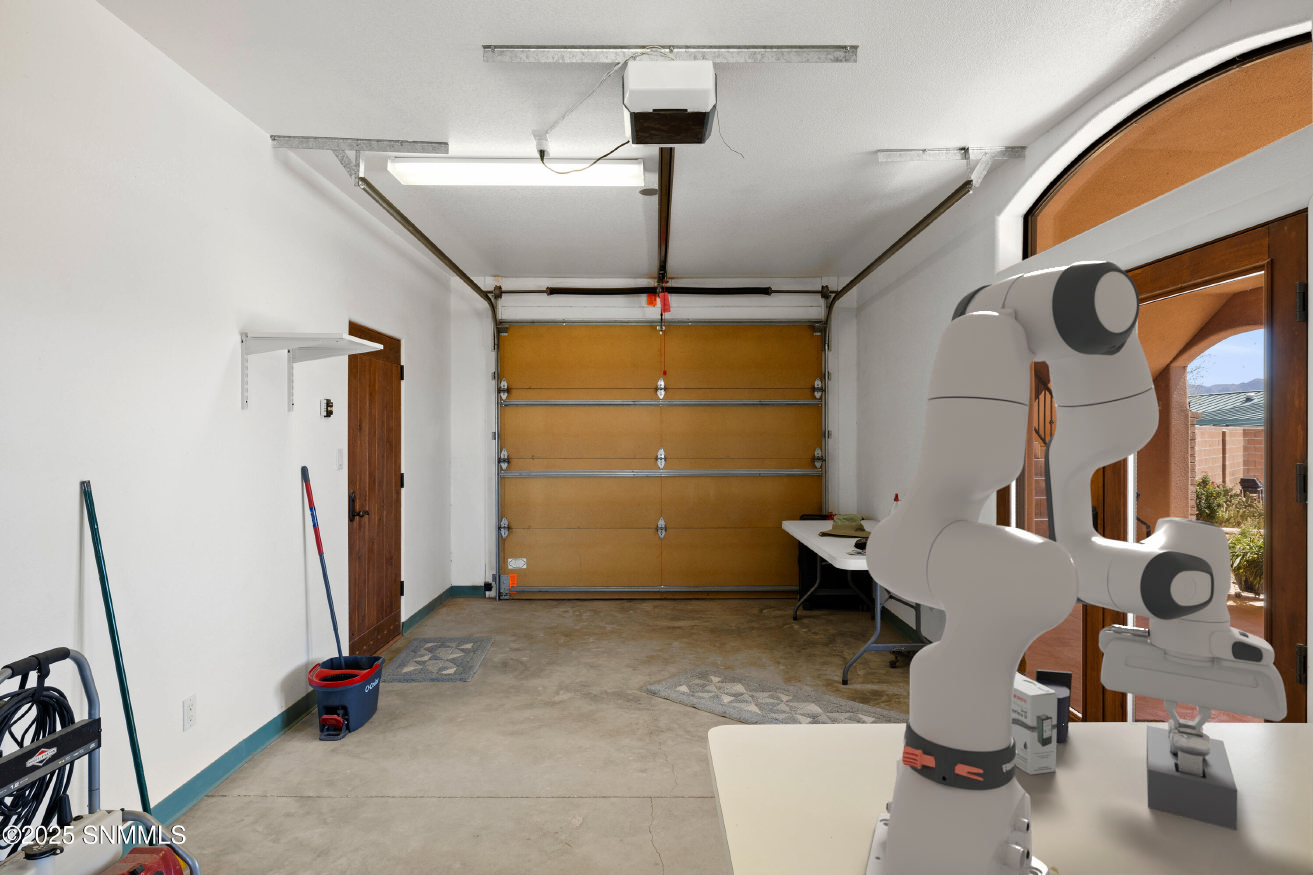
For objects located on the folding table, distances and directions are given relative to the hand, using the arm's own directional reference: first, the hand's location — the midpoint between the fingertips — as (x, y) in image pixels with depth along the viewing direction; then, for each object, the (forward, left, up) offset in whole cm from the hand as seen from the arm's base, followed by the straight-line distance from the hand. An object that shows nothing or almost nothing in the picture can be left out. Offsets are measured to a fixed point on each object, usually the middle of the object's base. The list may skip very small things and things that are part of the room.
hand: (1186, 734), depth 95 cm
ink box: (-3, +20, -8) cm, 22 cm away
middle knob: (0, 0, -6) cm, 6 cm away
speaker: (+9, +17, -8) cm, 21 cm away
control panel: (0, 0, -8) cm, 8 cm away
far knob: (+6, 0, -6) cm, 8 cm away
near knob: (-5, 0, -3) cm, 6 cm away
